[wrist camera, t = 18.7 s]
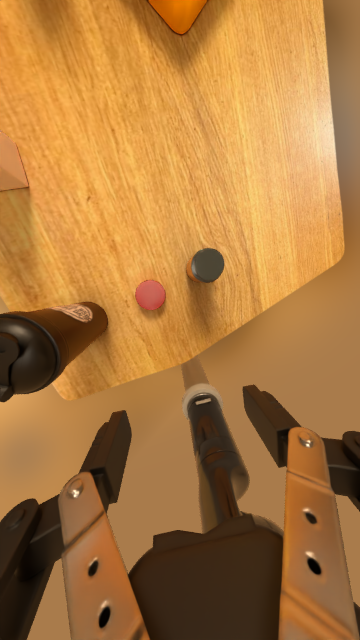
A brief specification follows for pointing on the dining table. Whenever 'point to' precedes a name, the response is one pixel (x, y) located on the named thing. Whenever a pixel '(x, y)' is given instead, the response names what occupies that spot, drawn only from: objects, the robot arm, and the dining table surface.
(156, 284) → the jar lid
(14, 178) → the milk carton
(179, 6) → the element tile
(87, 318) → the water bottle
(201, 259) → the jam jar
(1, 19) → the dining table surface
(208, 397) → the robot arm
